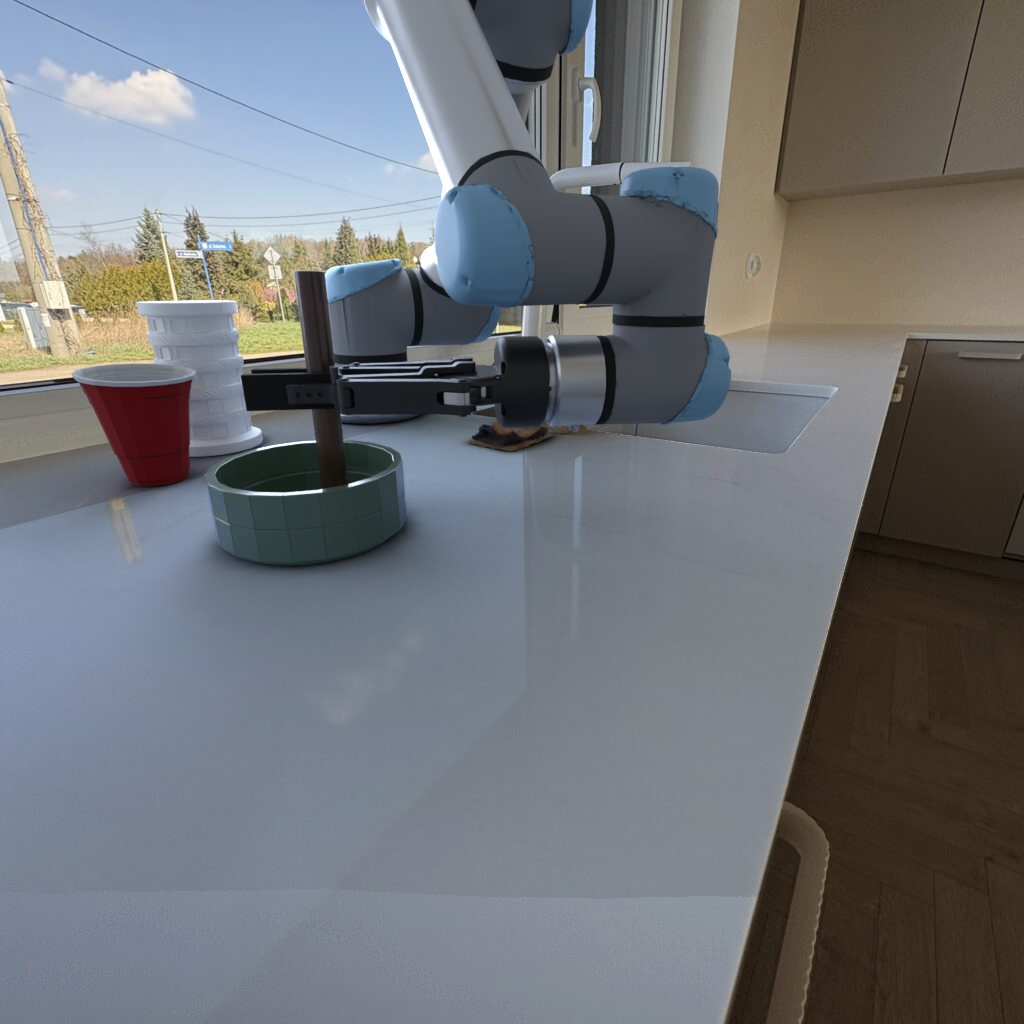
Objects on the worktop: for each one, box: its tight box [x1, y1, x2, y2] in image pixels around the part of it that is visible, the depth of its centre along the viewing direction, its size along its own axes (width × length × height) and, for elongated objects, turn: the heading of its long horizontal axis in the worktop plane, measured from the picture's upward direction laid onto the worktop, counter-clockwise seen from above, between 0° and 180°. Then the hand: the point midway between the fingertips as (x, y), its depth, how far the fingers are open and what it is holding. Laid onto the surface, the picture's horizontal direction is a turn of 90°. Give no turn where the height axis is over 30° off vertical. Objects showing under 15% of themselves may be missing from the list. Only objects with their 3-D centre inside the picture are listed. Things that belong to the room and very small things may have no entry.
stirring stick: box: [293, 270, 349, 489], centre depth 46 cm, size 5×5×20 cm
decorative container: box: [135, 299, 264, 458], centre depth 73 cm, size 12×12×18 cm
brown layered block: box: [468, 419, 554, 453], centre depth 78 cm, size 11×8×4 cm
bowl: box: [203, 439, 408, 566], centre depth 49 cm, size 16×16×6 cm
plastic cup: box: [70, 363, 196, 488], centre depth 61 cm, size 11×11×12 cm
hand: (250, 389), depth 45 cm, fingers closed on stirring stick, 2 cm apart
